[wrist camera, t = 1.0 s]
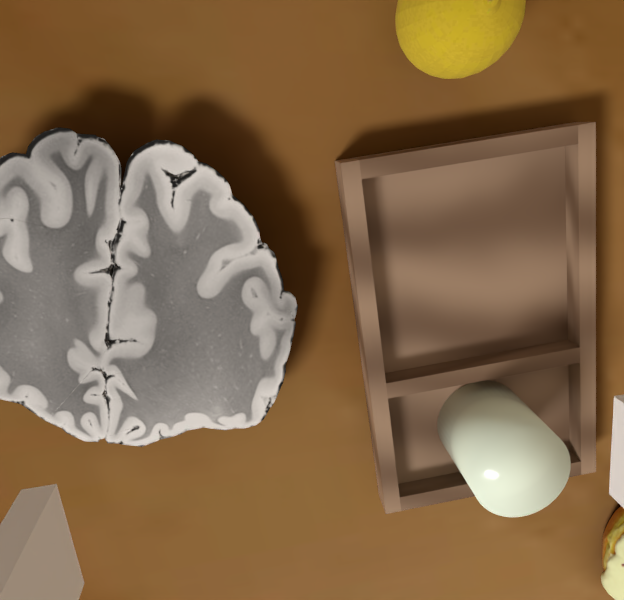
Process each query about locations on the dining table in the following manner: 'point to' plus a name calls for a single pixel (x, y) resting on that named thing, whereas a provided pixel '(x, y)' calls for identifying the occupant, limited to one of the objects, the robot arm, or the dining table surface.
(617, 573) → the decorated donut
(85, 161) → the brain slice
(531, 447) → the white capsule pill
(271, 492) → the dining table surface
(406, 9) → the lemon
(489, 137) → the organizer
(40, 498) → the robot arm
